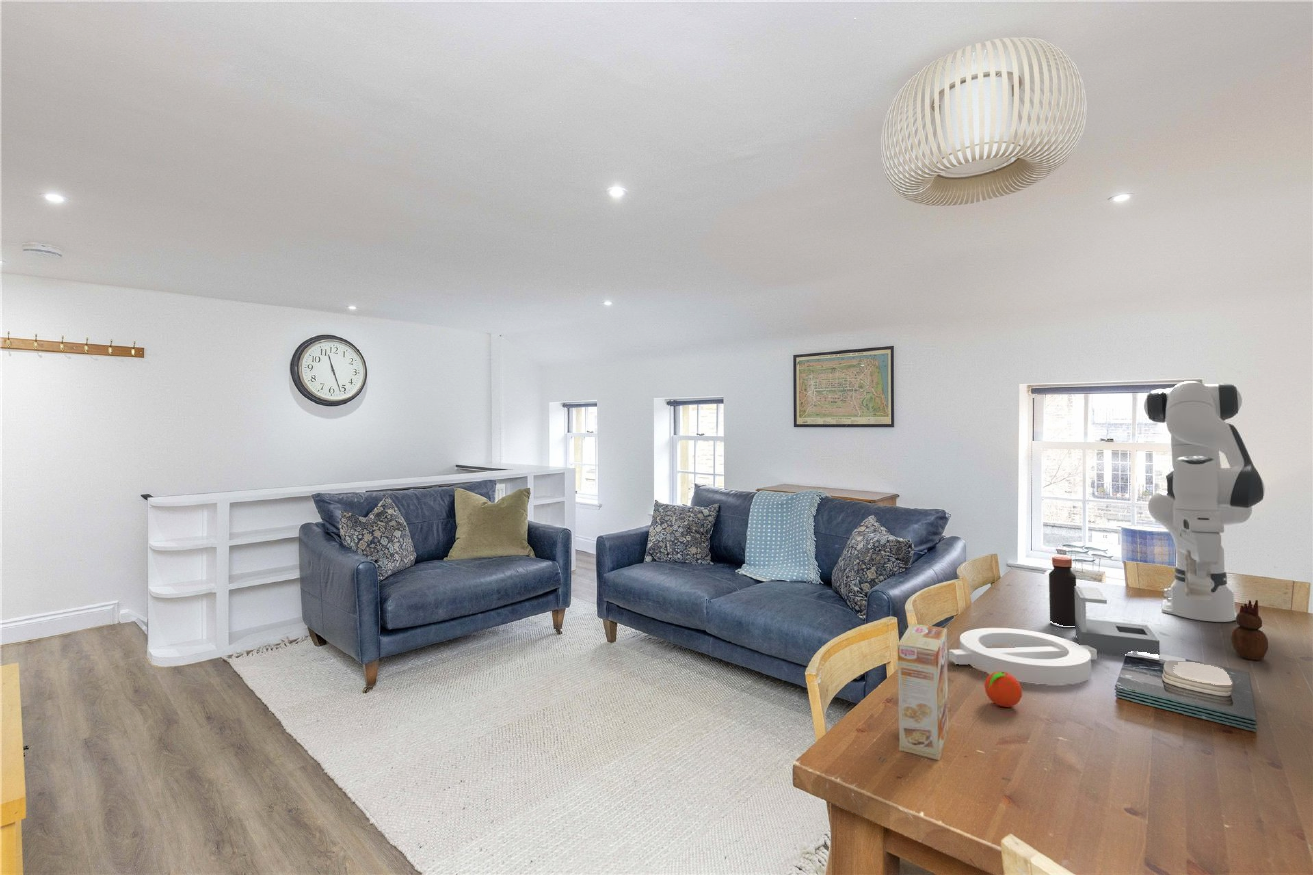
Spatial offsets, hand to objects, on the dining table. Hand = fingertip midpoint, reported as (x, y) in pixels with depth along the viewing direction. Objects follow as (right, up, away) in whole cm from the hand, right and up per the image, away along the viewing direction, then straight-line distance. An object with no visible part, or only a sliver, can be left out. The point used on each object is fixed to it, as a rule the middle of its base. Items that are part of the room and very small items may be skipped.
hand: (1197, 575), depth 152 cm
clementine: (-63, -22, -24) cm, 71 cm away
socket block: (-14, -21, +9) cm, 27 cm away
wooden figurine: (+13, -21, 0) cm, 25 cm away
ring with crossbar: (-44, -22, 0) cm, 50 cm away
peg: (0, -6, 0) cm, 6 cm away
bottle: (-15, -22, +29) cm, 39 cm away
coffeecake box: (-85, -23, -37) cm, 96 cm away
